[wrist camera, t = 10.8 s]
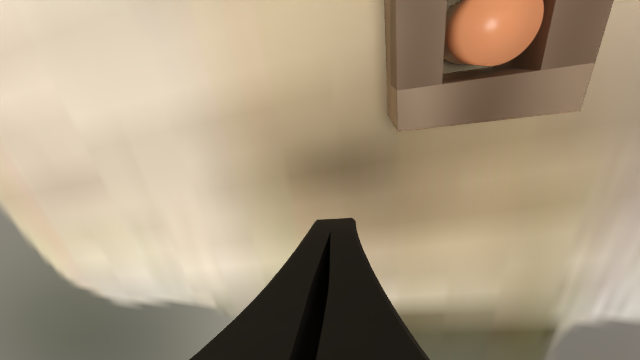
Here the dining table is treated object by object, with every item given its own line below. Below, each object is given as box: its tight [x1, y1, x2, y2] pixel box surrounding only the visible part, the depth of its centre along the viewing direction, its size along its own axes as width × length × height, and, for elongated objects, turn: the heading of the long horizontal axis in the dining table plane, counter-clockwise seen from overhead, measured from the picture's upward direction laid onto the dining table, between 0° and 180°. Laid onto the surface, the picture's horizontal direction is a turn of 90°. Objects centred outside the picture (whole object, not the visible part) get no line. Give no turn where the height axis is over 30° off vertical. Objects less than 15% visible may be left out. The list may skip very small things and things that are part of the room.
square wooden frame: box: [384, 0, 614, 131], centre depth 12 cm, size 8×8×4 cm
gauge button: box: [444, 0, 544, 66], centre depth 11 cm, size 3×3×4 cm
